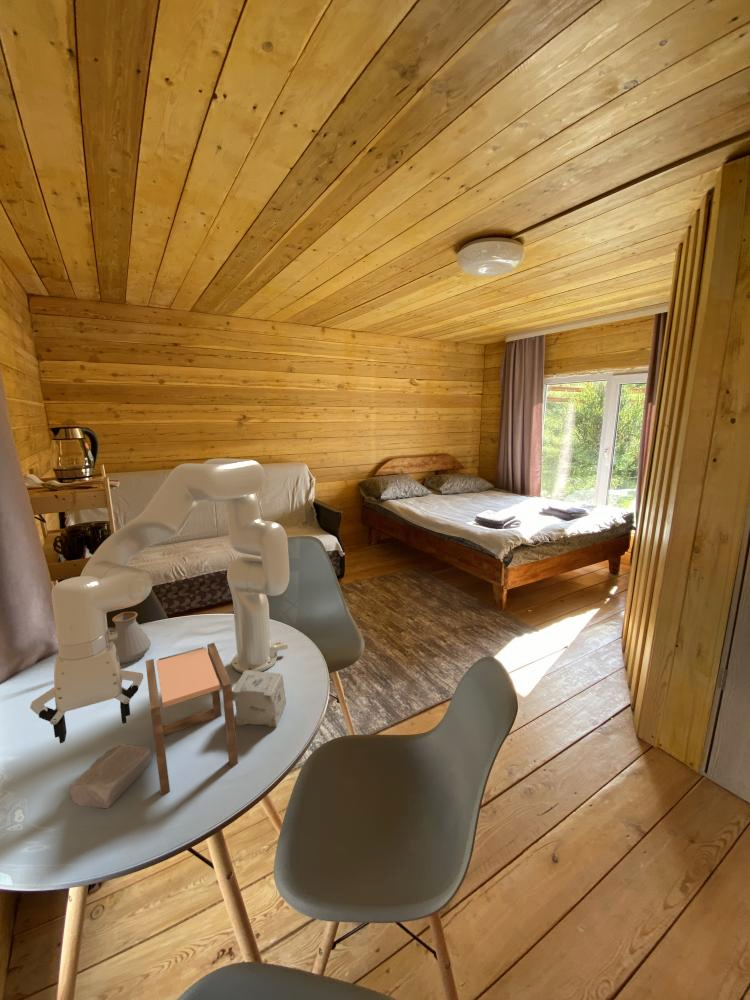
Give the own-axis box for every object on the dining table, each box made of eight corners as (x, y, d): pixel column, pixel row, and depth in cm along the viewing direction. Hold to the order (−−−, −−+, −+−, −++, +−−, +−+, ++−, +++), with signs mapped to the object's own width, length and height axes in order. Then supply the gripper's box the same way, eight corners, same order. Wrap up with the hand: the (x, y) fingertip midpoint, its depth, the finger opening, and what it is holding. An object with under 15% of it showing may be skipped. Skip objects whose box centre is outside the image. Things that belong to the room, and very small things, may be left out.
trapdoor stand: (220, 711, 99) (214, 642, 96) (237, 763, 84) (231, 683, 81) (154, 734, 92) (145, 660, 89) (161, 795, 77) (150, 709, 74)
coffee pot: (147, 642, 132) (141, 598, 129) (155, 657, 123) (150, 610, 120) (64, 667, 118) (56, 619, 115) (67, 686, 109) (58, 634, 107)
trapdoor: (204, 652, 97) (203, 642, 96) (220, 696, 81) (219, 684, 81) (156, 665, 91) (155, 654, 91) (164, 714, 76) (162, 702, 76)
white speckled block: (232, 729, 94) (229, 688, 92) (249, 704, 102) (246, 666, 100) (273, 733, 92) (271, 691, 90) (287, 708, 100) (285, 669, 98)
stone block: (66, 812, 76) (110, 812, 74) (59, 788, 75) (103, 787, 73) (118, 763, 87) (158, 761, 85) (112, 742, 87) (152, 740, 85)
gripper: (138, 625, 83) (145, 702, 86) (27, 648, 74) (40, 733, 77) (139, 641, 77) (147, 723, 80) (18, 668, 68) (32, 760, 71)
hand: (94, 728), depth 78 cm, fingers open, 9 cm apart
